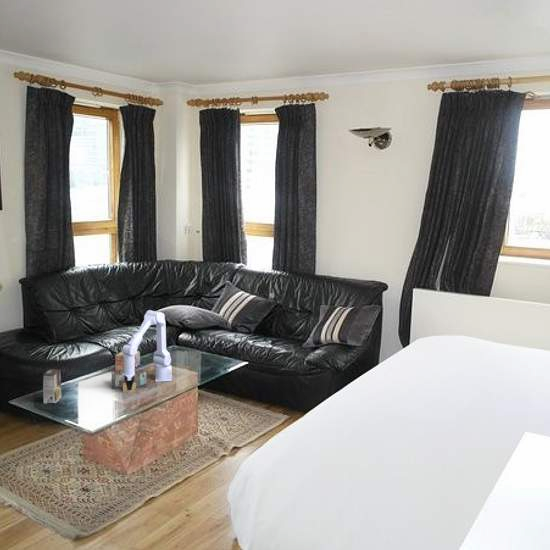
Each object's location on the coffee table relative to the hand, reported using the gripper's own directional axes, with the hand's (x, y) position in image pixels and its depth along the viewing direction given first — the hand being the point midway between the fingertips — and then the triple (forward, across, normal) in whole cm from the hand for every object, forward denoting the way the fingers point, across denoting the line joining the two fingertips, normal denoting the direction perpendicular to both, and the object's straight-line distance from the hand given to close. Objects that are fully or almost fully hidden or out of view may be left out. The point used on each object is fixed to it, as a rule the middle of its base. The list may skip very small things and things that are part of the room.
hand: (129, 388), depth 336 cm
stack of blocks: (+2, -41, -1) cm, 41 cm away
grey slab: (+1, -11, 0) cm, 11 cm away
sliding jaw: (0, -11, +8) cm, 13 cm away
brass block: (+2, 0, 0) cm, 2 cm away
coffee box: (+2, +10, -40) cm, 41 cm away
